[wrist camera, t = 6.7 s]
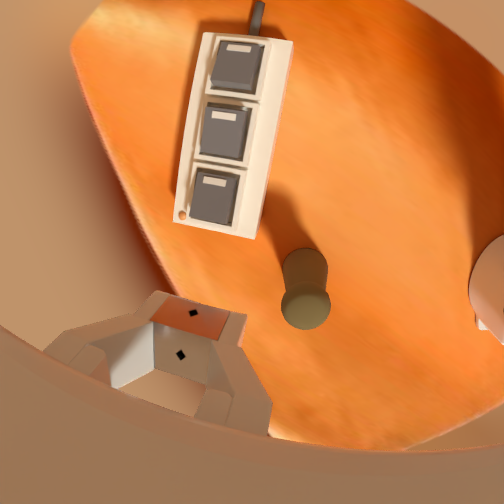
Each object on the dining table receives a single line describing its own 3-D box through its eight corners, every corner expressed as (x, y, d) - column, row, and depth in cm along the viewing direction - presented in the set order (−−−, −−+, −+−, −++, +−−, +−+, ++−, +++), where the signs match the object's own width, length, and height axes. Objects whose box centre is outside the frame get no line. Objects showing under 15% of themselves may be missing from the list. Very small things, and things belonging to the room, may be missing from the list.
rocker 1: (261, 53, 27) (259, 44, 25) (251, 90, 28) (249, 83, 26) (224, 49, 27) (221, 41, 26) (213, 85, 28) (209, 79, 26)
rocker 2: (248, 110, 29) (244, 111, 27) (241, 154, 31) (237, 158, 30) (210, 105, 29) (205, 106, 28) (205, 148, 31) (199, 152, 30)
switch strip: (301, 11, 28) (301, -8, 23) (258, 229, 39) (252, 243, 34) (222, 3, 29) (210, -15, 24) (184, 213, 40) (168, 225, 35)
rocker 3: (237, 180, 32) (234, 178, 31) (227, 223, 33) (224, 224, 31) (201, 173, 33) (197, 171, 31) (192, 216, 33) (188, 216, 32)
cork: (305, 298, 42) (305, 347, 31) (272, 269, 41) (263, 314, 31) (337, 269, 39) (348, 314, 29) (305, 238, 39) (306, 275, 28)
